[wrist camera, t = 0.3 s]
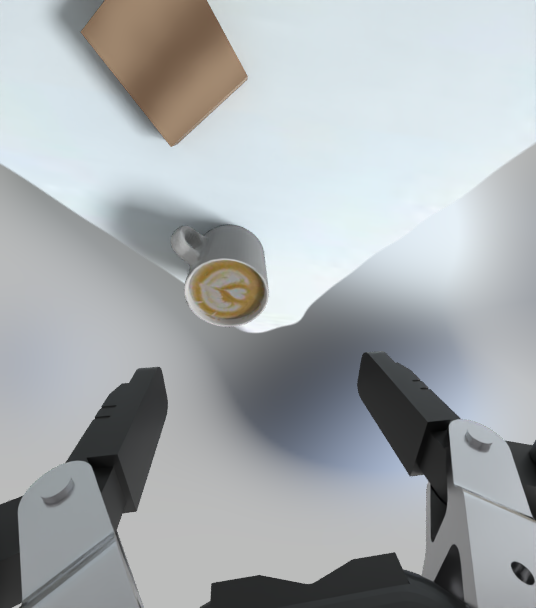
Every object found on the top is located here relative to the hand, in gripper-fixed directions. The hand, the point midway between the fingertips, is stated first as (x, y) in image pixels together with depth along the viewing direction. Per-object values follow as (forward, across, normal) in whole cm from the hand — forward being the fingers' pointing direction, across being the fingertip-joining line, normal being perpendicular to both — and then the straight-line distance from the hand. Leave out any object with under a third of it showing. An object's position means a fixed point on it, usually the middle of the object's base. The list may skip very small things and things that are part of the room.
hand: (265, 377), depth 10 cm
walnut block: (+25, +6, -19) cm, 32 cm away
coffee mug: (+30, +3, 0) cm, 30 cm away
